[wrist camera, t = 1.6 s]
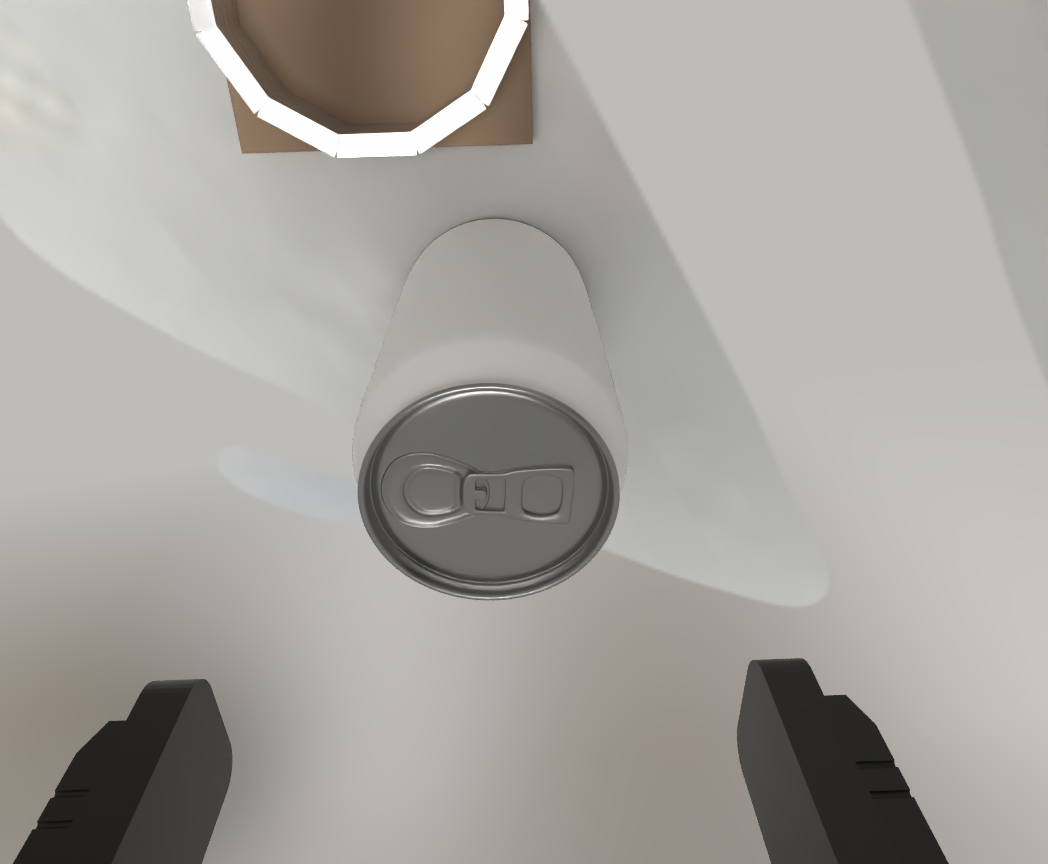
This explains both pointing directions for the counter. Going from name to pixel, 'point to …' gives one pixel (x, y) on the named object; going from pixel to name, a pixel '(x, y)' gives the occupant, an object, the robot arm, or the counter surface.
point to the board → (385, 65)
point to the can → (491, 419)
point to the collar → (318, 127)
